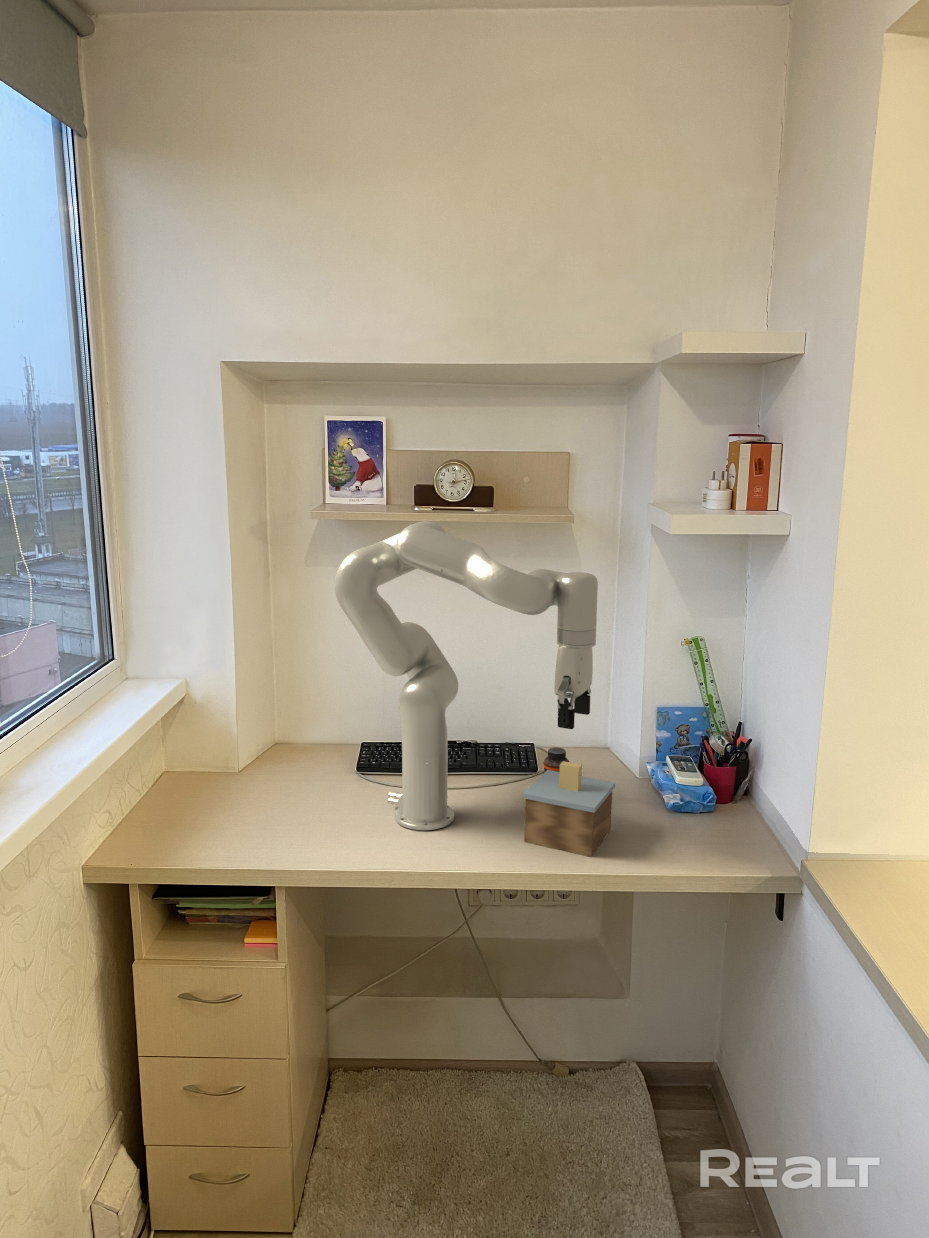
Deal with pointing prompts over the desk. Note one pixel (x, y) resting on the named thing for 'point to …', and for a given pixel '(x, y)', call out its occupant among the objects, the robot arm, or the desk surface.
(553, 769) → the supplement bottle
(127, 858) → the desk surface
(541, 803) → the box
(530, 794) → the lid
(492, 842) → the desk surface
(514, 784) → the desk surface
